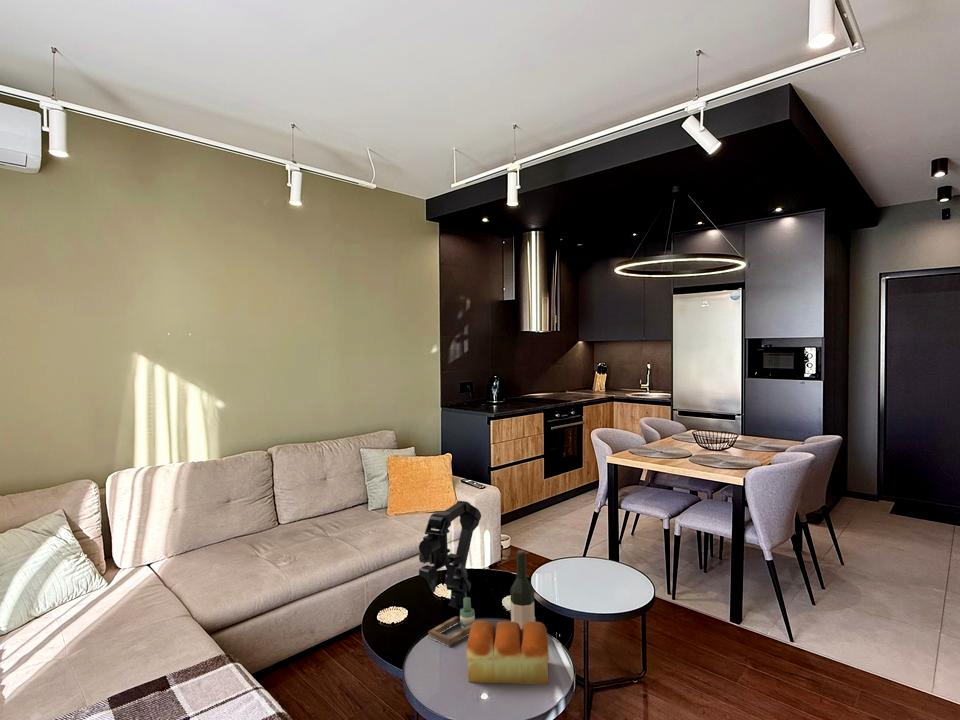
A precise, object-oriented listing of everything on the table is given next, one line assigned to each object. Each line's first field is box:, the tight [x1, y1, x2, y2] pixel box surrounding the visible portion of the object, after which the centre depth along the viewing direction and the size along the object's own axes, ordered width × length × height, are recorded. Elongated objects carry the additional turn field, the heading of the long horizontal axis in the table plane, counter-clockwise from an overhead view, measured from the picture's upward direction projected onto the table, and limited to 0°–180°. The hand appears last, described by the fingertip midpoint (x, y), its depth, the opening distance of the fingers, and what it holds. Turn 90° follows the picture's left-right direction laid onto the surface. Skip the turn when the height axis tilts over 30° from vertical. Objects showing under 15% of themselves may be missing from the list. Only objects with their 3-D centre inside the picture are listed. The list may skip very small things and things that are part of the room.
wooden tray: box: [427, 615, 472, 647], centre depth 189 cm, size 14×10×2 cm
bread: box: [466, 620, 550, 685], centre depth 165 cm, size 25×12×15 cm, turn 85°
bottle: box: [459, 596, 476, 627], centre depth 195 cm, size 6×6×10 cm
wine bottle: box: [509, 549, 536, 638], centre depth 187 cm, size 8×8×30 cm
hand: (441, 587), depth 201 cm, fingers open, 9 cm apart
